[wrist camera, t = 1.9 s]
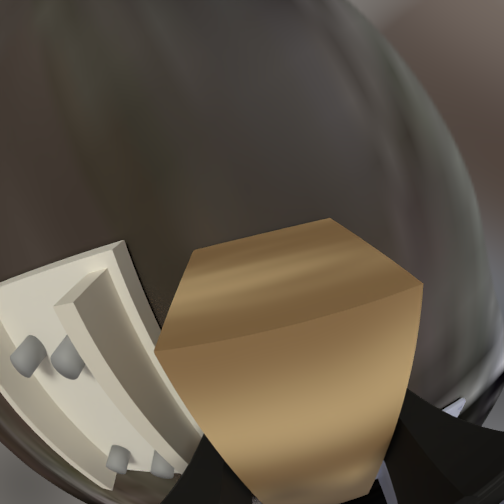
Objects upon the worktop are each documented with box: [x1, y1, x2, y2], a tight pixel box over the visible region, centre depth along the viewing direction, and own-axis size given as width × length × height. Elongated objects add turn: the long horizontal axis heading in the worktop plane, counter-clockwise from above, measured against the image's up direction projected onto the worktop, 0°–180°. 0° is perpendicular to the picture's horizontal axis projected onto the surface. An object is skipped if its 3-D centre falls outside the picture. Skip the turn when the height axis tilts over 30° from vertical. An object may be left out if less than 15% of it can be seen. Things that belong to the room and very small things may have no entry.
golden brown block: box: [154, 218, 423, 504], centre depth 8 cm, size 12×4×5 cm, turn 13°
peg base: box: [0, 240, 204, 490], centre depth 9 cm, size 14×9×3 cm, turn 13°
